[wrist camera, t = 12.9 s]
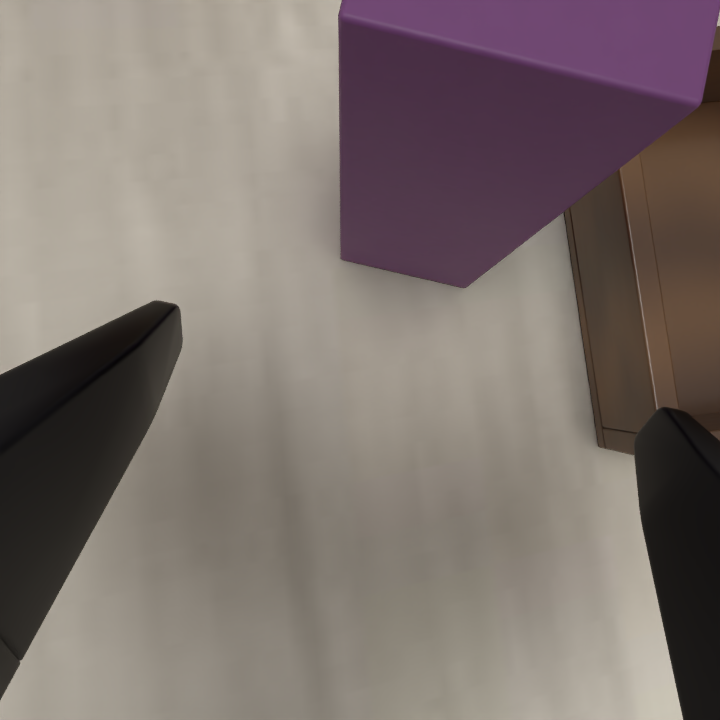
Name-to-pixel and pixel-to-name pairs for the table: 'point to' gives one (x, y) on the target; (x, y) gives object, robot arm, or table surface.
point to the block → (498, 117)
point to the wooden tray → (654, 278)
